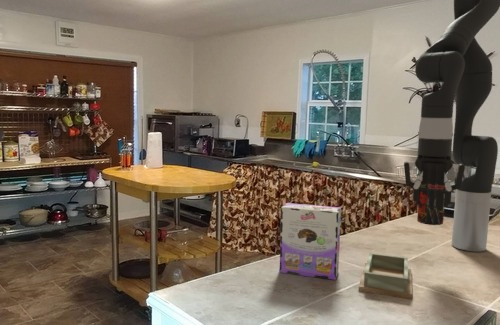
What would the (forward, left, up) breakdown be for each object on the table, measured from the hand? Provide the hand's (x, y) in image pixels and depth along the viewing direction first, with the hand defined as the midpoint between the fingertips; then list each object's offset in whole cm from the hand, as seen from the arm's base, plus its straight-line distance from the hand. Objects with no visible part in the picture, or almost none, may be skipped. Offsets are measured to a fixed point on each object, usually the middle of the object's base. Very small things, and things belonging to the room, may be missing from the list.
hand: (431, 204), depth 106 cm
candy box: (+13, -27, -17) cm, 35 cm away
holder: (+12, -9, -17) cm, 22 cm away
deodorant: (0, 0, -5) cm, 5 cm away
